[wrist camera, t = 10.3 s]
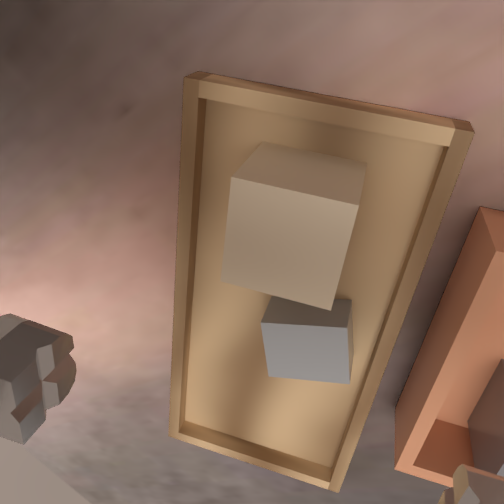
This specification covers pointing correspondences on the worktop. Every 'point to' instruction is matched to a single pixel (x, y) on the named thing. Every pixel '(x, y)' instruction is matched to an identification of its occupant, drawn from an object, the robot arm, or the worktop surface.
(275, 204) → the beige cube
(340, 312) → the light grey block
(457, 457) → the terracotta dish
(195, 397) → the oak tray
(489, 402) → the charcoal cube
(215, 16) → the worktop surface
